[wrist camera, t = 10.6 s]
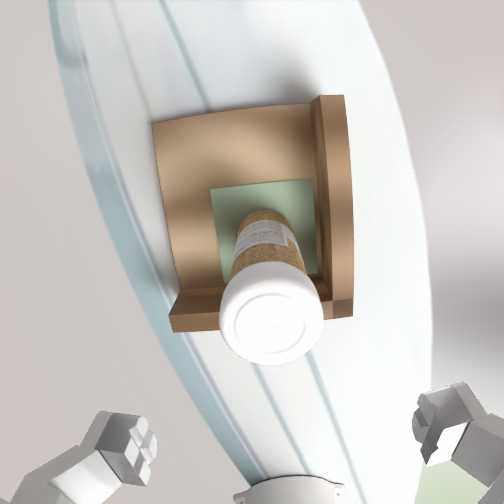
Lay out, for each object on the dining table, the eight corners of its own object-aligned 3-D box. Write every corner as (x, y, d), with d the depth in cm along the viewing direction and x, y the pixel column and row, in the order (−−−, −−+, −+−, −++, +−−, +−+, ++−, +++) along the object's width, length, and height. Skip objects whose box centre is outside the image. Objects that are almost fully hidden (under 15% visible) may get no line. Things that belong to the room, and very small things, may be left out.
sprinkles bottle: (293, 260, 27) (321, 365, 14) (238, 263, 27) (222, 370, 14) (292, 206, 25) (328, 275, 12) (234, 208, 25) (211, 280, 12)
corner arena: (338, 287, 28) (352, 316, 23) (186, 301, 29) (173, 332, 24) (327, 103, 23) (343, 94, 18) (154, 124, 24) (131, 121, 19)
